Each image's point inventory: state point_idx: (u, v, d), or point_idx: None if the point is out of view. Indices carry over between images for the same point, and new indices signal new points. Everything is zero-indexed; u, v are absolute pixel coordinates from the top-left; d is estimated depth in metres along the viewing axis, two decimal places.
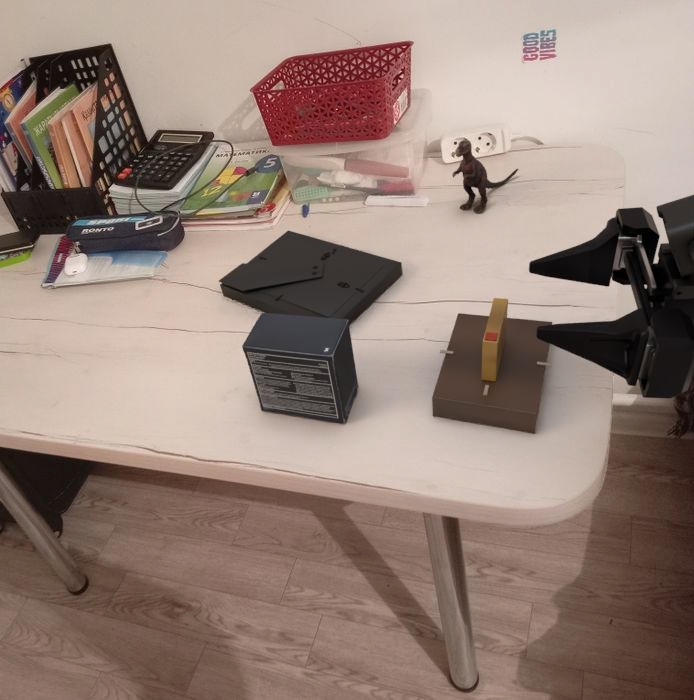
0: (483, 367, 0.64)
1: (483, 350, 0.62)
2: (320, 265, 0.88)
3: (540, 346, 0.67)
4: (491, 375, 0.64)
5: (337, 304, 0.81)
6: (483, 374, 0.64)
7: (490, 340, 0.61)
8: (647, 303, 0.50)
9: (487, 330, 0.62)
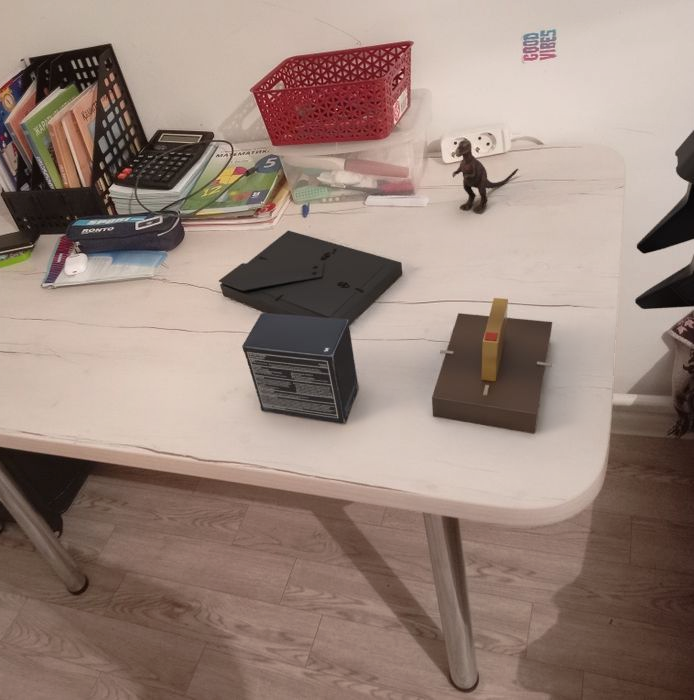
0: (483, 367, 0.64)
1: (483, 350, 0.62)
2: (320, 265, 0.88)
3: (540, 346, 0.67)
4: (491, 375, 0.64)
5: (337, 304, 0.81)
6: (483, 374, 0.64)
7: (490, 340, 0.61)
8: None
9: (487, 330, 0.62)
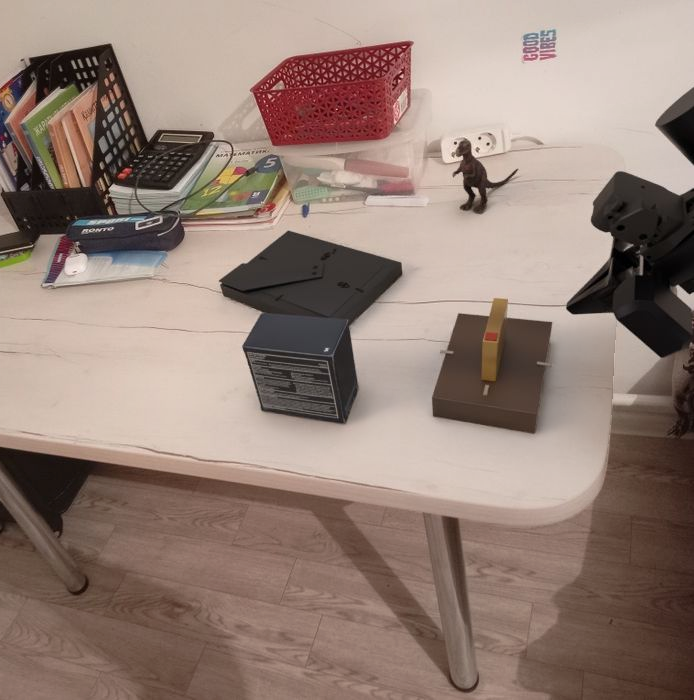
0: (483, 367, 0.64)
1: (483, 350, 0.62)
2: (320, 265, 0.88)
3: (540, 346, 0.67)
4: (491, 375, 0.64)
5: (337, 304, 0.81)
6: (483, 374, 0.64)
7: (490, 340, 0.61)
8: None
9: (487, 330, 0.62)
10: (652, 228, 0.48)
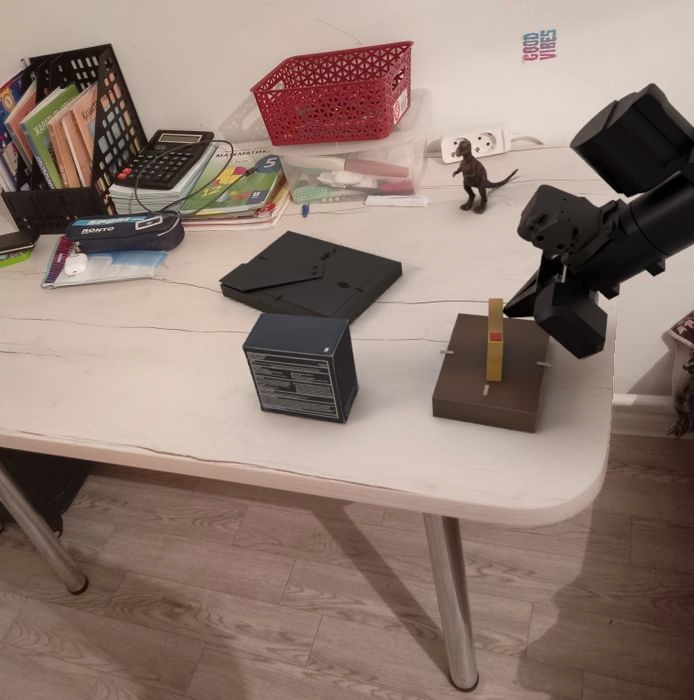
0: (488, 368, 0.63)
1: (488, 351, 0.62)
2: (320, 265, 0.88)
3: (540, 346, 0.67)
4: (496, 375, 0.64)
5: (337, 304, 0.81)
6: (488, 375, 0.64)
7: (495, 340, 0.61)
8: None
9: (490, 331, 0.62)
10: (568, 238, 0.52)
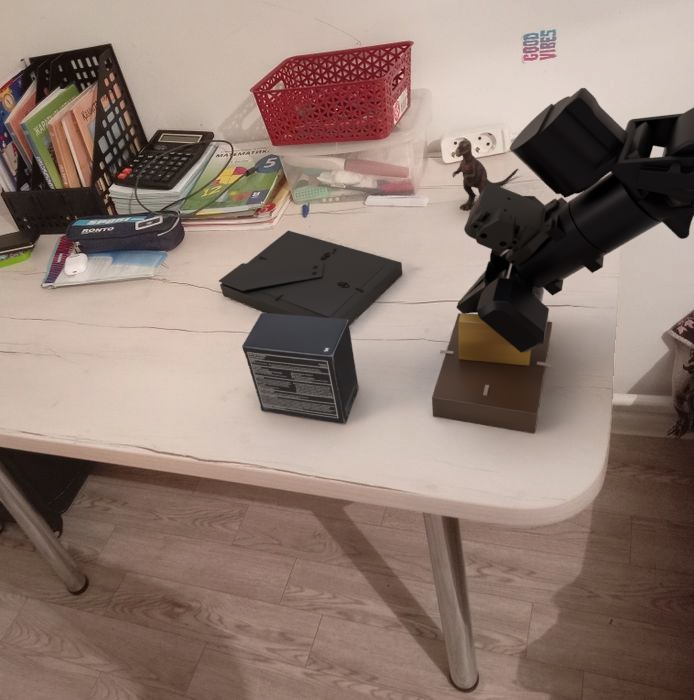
0: (530, 351, 0.64)
1: None
2: (320, 265, 0.88)
3: (540, 346, 0.67)
4: None
5: (337, 304, 0.81)
6: None
7: None
8: None
9: None
10: (509, 236, 0.54)
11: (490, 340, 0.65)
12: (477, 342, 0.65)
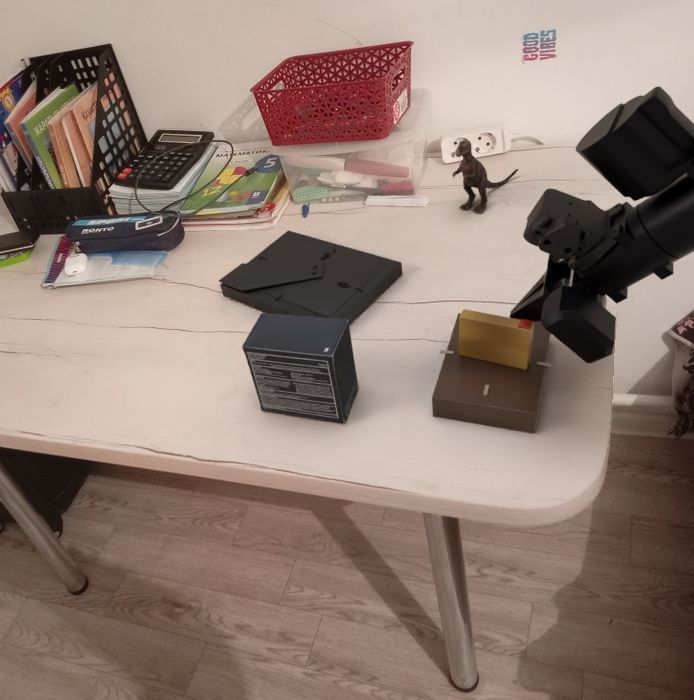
0: (528, 356, 0.63)
1: (529, 339, 0.62)
2: (320, 265, 0.88)
3: (540, 346, 0.67)
4: (529, 358, 0.64)
5: (337, 304, 0.81)
6: (527, 363, 0.64)
7: (530, 325, 0.61)
8: None
9: (512, 326, 0.62)
10: (575, 242, 0.52)
11: (488, 339, 0.65)
12: (476, 340, 0.66)
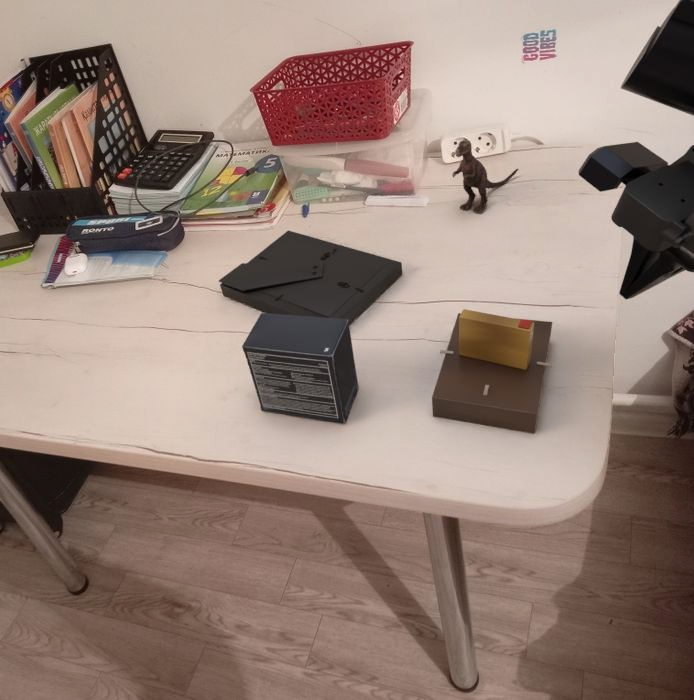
0: (528, 356, 0.63)
1: (529, 339, 0.62)
2: (320, 265, 0.88)
3: (540, 346, 0.67)
4: (529, 358, 0.64)
5: (337, 304, 0.81)
6: (527, 363, 0.64)
7: (530, 325, 0.61)
8: None
9: (512, 326, 0.62)
10: None
11: (488, 339, 0.65)
12: (476, 340, 0.66)
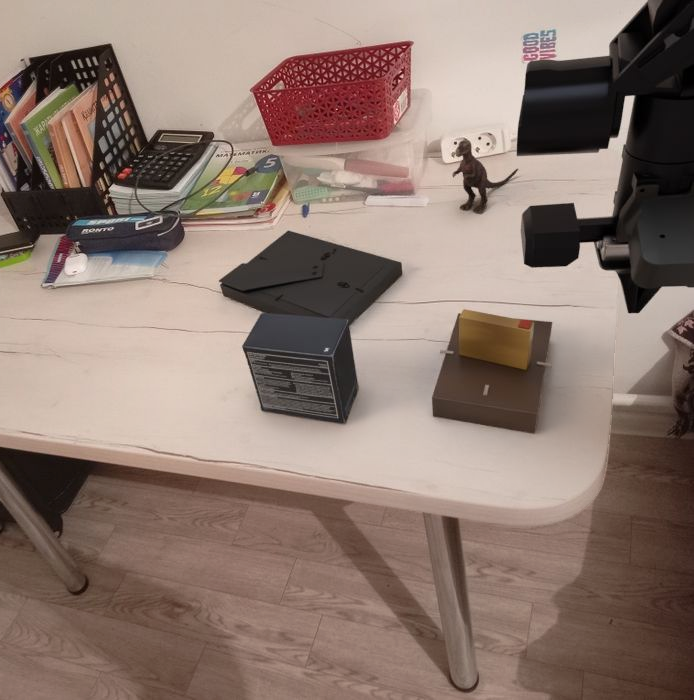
0: (528, 356, 0.63)
1: (529, 339, 0.62)
2: (320, 265, 0.88)
3: (540, 346, 0.67)
4: (529, 358, 0.64)
5: (337, 304, 0.81)
6: (527, 363, 0.64)
7: (530, 325, 0.61)
8: None
9: (512, 326, 0.62)
10: None
11: (488, 339, 0.65)
12: (476, 340, 0.66)
